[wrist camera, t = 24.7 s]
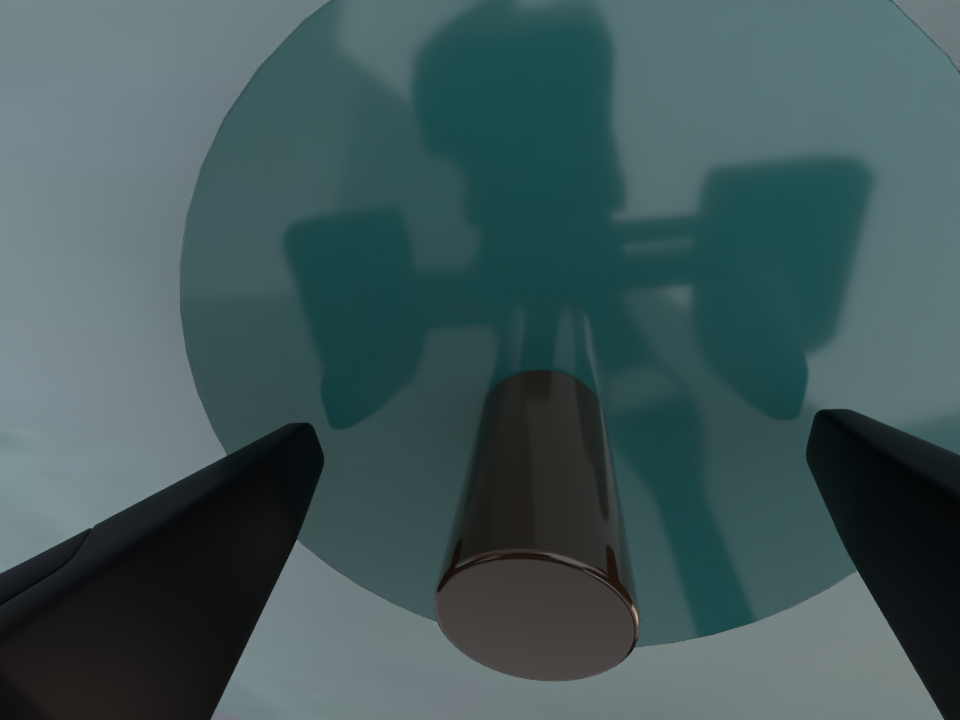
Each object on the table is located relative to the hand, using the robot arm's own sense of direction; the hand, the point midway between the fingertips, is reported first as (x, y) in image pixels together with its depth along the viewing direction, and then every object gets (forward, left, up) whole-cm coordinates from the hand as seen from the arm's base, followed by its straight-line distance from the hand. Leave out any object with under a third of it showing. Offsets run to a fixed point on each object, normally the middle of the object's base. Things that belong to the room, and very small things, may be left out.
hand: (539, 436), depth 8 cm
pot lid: (0, 0, -1) cm, 1 cm away
